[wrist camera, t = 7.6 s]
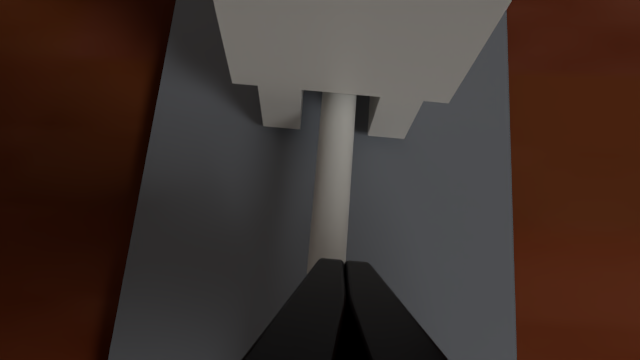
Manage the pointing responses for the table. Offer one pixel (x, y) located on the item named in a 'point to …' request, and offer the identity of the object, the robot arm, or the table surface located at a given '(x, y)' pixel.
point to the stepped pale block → (354, 52)
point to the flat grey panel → (315, 207)
